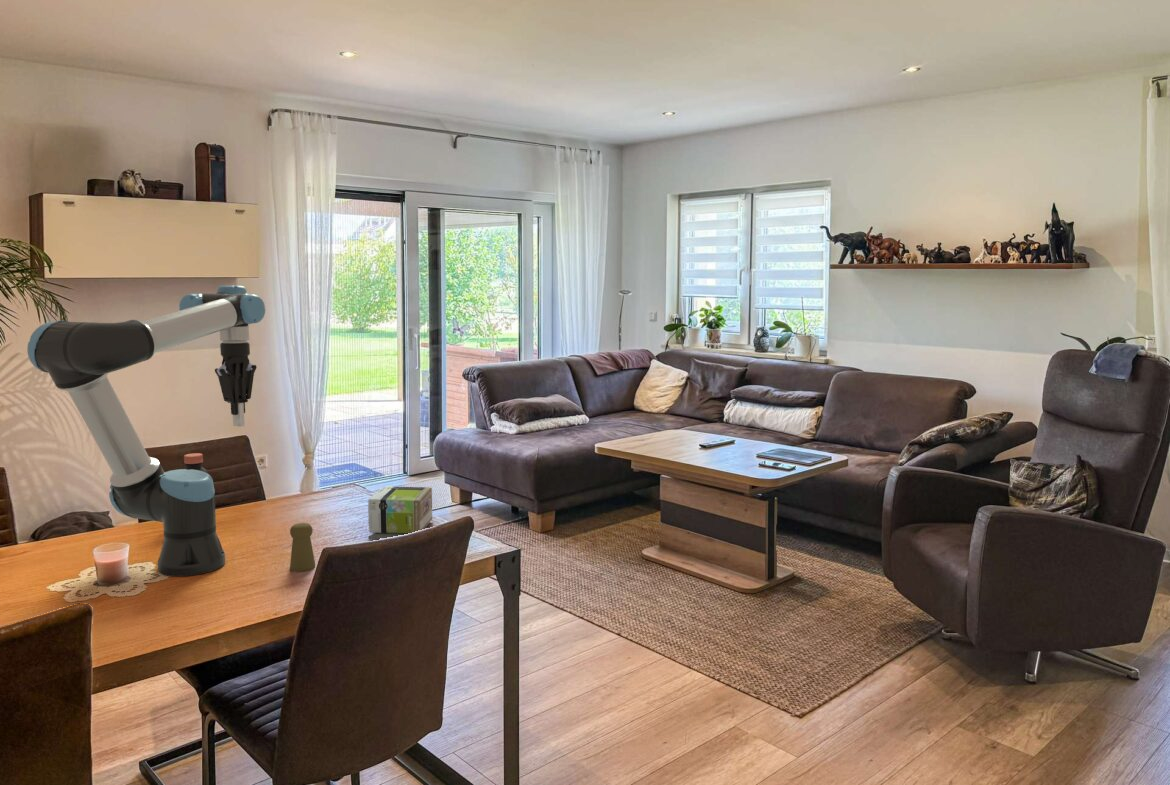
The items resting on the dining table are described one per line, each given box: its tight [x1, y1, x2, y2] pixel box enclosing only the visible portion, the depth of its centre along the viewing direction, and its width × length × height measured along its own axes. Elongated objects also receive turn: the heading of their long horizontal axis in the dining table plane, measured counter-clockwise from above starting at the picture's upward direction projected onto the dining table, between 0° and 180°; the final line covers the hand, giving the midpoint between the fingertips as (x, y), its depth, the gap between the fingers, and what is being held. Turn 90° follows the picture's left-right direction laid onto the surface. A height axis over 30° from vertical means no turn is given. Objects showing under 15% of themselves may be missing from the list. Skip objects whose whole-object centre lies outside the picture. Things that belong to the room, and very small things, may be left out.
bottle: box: [183, 452, 208, 474], centre depth 246 cm, size 7×7×20 cm
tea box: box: [367, 486, 433, 534], centre depth 242 cm, size 15×10×15 cm
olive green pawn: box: [289, 522, 316, 573], centre depth 209 cm, size 6×6×11 cm
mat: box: [368, 526, 428, 540], centre depth 237 cm, size 14×10×1 cm
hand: (238, 425), depth 238 cm, fingers closed
